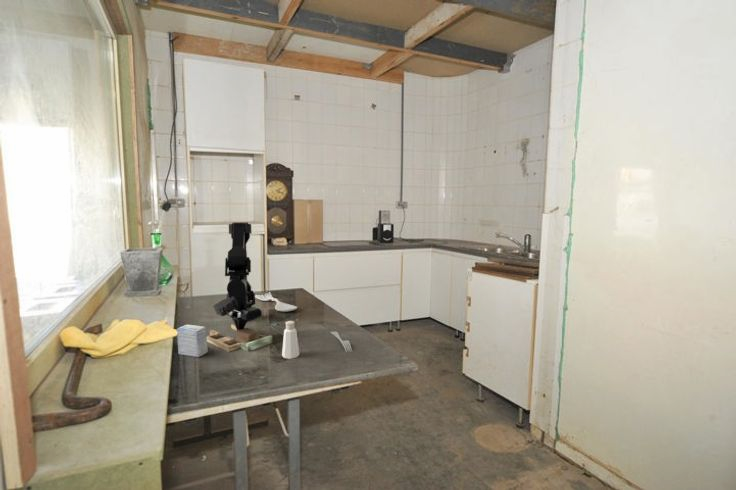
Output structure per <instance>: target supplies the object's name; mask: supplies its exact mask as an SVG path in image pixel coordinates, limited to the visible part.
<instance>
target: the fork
mask: <svg viewBox="0 0 736 490" xmlns="http://www.w3.org/2000/svg"><path fill="white" fill-rule="evenodd" d="M330 334H332V335H333V336H334V337H335V338H337V339H338V341H339V342H340V343H341V344H342V346H343V348H344V350H345V352H346V353H349V352H353V350H352V349H353V348H352V346H351V343H350V341H349V340H343V339H342V337H341V336H340V333H339V331H330Z"/></svg>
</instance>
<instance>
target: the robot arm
mask: <svg viewBox="0 0 736 490" xmlns="http://www.w3.org/2000/svg"><path fill="white" fill-rule="evenodd" d="M228 234H229V235H230V237H231V239H232V243H231V249H229V250H228V251H227V256H226V257H225V260H224V261H225V262H224V263H225V265H224V276H225V277H228V278H229V281H228V283H227V285H226V291H227V294H226V298H224V299H222V300H220V301H218V302H217V303H215V304H214V305H213V310H214V311H215V313H216V315H218V316H220V317H225V316H226V315H227V316H229V318H231V319H232V321H233V324H235V326H236V329H237V331H238V330H241V329H244V328H246V324H247V323H248V321H251V320H255V319H257V318H261V317H262V316H263V313H262V312H263V310H262V309H260V308H259V307H255V306H254V305H256V298H255V295H256V294H255V292H254V290H252V286H251V283H250V282H249V281H248V276H249V275H250V273H251V272H252V260H251V259H250V257H249V256H248V252H247V251H248V250H247V243H248V241H249V240H250V238H251V234H252V223H249V222H248V221H247V222H246V221H243V222H242V221H241V222H238V221H237V222H233V221H232V223H229V224H228Z"/></svg>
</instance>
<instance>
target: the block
mask: <svg viewBox="0 0 736 490" xmlns="http://www.w3.org/2000/svg"><path fill="white" fill-rule="evenodd" d="M259 334H260V331H257V330H255V329H252V328H249V327H244V329H241V330H238V331H236V330H235V342H236V343H245V344H246V343H249V342H252V341H255V340H258V339H260V336H259Z"/></svg>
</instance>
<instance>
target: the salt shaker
mask: <svg viewBox="0 0 736 490" xmlns="http://www.w3.org/2000/svg"><path fill="white" fill-rule="evenodd" d="M283 336H284V337H283V339H282V350H281V356H282V357H283V359H287V360H288V359H289V360H292V359H297V358H298V356H300V347H299V341H298V340H299V339H298V333H297V329H296V328H295V321H294V320H288V321H285V329H284V335H283Z"/></svg>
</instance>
